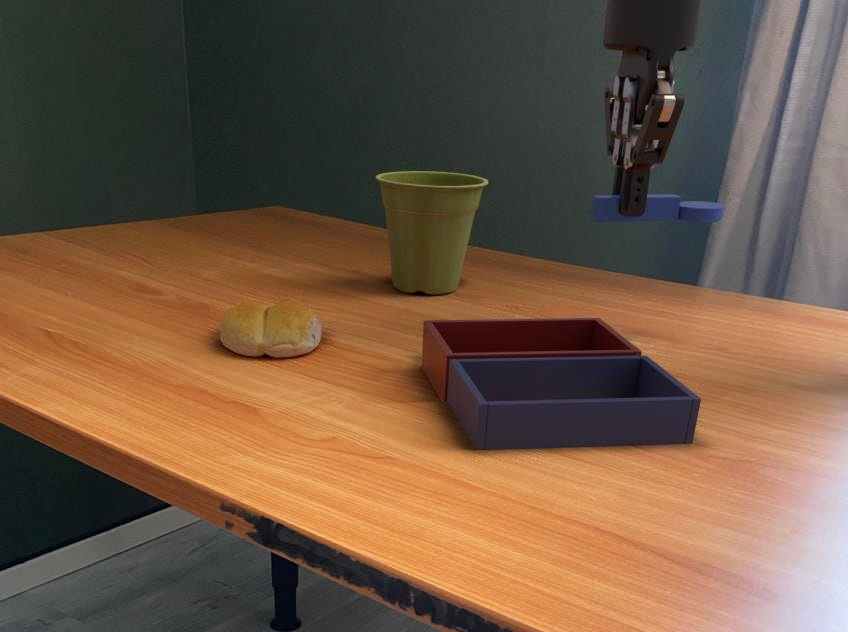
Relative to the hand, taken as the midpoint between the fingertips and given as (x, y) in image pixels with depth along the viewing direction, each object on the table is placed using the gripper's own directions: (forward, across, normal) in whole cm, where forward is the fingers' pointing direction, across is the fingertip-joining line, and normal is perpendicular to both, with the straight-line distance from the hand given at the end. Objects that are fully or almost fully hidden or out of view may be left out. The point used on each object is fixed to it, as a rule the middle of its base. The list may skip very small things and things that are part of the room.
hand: (626, 213), depth 89 cm
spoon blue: (+1, 0, -3) cm, 3 cm away
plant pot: (+11, +20, +14) cm, 27 cm away
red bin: (+11, -14, +12) cm, 22 cm away
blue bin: (+11, -26, +12) cm, 30 cm away
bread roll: (+11, -2, +32) cm, 34 cm away
